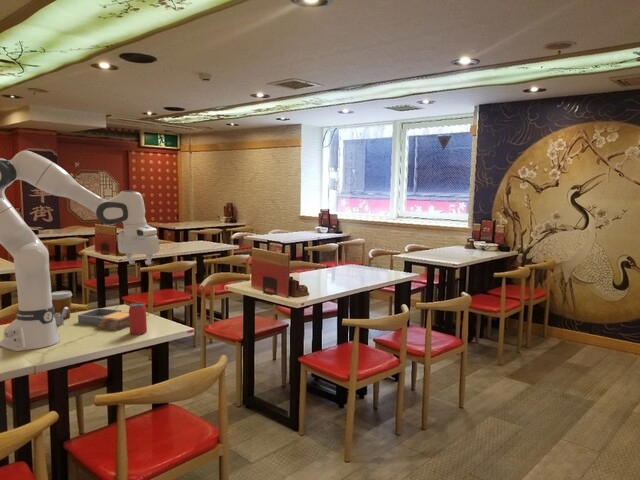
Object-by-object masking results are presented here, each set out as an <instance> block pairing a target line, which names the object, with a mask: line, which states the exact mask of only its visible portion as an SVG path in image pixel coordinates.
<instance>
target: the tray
mask: <svg viewBox="0 0 640 480" xmlns="http://www.w3.org/2000/svg"><path fill="white" fill-rule="evenodd" d="M117 311H118V312H122V309H121V310H120V309H111V308H110V309H109V308H101V307H100V308H96V309H93V310H89V311H87V312H84V313H80V314H78V315H77V321H78V324H85V325H92V326H93V325H94V326H98V318H100V317H103V316H106V315H109V314H111V313H114V312H117Z"/></svg>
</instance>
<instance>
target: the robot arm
mask: <svg viewBox="0 0 640 480" xmlns="http://www.w3.org/2000/svg"><path fill="white" fill-rule="evenodd" d="M17 180H19V181H24V182H26V183H28V184H29V185H32V186H33V187H35V188H37V189H38V190H41V191H42V192H45V193H47V194H50V195H52V196H54V197H55V196H56V197H63V198H67V199H70V200H72V201H75V202H76V203H79V204H80V205H82V206H84V207H85V208H87V209H89V210H91V212H93V213H94V215H96V218H97V220H98V221H99V222H100V223H102V224H103V225H104V226H105V225H106V226H113V225H116V224H119V223H122V225H123V230H120V231H119V233H118V234H117V235H118V237H117V249H118V252H119V253H120V254H125V257H126V259H127V260H128V263H129V265H134V264H136V262H135V259H134V258H133V254H134V255H135V254H137V255H138V254H140V255H145V256H146V259H145V260H144V263H145V265H146V266H148V265H152V259H153V255H154V254H158V253H159V251H160V241H159V237H158V236H157V234H158V229H157V228H155V227H153V226H150V225H149V224H148V223H147V222H148V221H147V220H146V217H145V215H146V207H145V206H146V205H145V202H144V198H143V195H142V194H141V193H140V192H139V191H136V190H122V191H120V192H119V193H117V194H116V195H115V196H113V197H111V198H104V197H101V196H99V195H97V194H96V193H94V192H92V191H91V190H89V189H87V188H85V187H84V186H82V185H81V184H80V183H79V182H78V181H76V179H75V178H73V176H71V175H70V174H69V173H68V171H66V170H65V169H64V168H62V167H61V166H59V165H58V164H56V163H55V162H53V161H52V160H50V159H48V158H46V157H44V156H43V155H40V154H38V153H35V152H33V151H30V150H21V151H19V152H18V153H15V155H14V156H13V157H12V158H11V159H7V158H5V157H0V245H1V246H2V247H3V248H4V249H5V250H6V251H7V252H8V253H9V255H11V256H12V258H13V265H14V266H13V267H14V275H15V283H16V289H17V291H16V292H17V301H18V309H16V310H14V312H13V314H14V315H15V314H16V315H15V319H14V320H12V322H10V323H9V324H8V325H6V327H4V330H3V335H2V337H3V338H1V339H0V347H1V348H5V349H8V350H11V351H15V352H22V351H28V350H36V349H42V348H46V347H49V346H52V345H56V344H57V343H59V342H60V333H58V327H57V326H58V325H56V321H55V318H54V317H53V315H54V306H53V305H52V295H51V293H52V284H51V272H50V253H49V250H48V248H47V247H46V246H45V244H44V243H43V242H42V241H41V239H40V238H39V237H38V236H37V235H36V233H35V232H34V231H33V230H32V229H31V228H30V226H28V224H27V223H26V222H25V220H24V219H23V217H22V216H21V215H20V213H19V212H17V210H16V209H15V207H14V206H13V205H12V204H11V202H10V201H9V199H8V198H7V197H6V194H5V192H6V191H7V190H8V189H10V187H11V186H12V185H13V184H14V183H15V182H16V181H17Z"/></svg>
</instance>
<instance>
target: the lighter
mask: <svg viewBox="0 0 640 480" xmlns="http://www.w3.org/2000/svg"><path fill="white" fill-rule="evenodd" d="M68 310H69V308H67V307H65V308H64V309H63V311H62V314H61V315H60V313H55V315H53V317H54V318H55V321H56V326H59V327H60V326H64V320H63V317H65V316H66V315H67V312H68Z"/></svg>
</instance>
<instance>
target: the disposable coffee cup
mask: <svg viewBox="0 0 640 480" xmlns="http://www.w3.org/2000/svg"><path fill="white" fill-rule="evenodd" d="M51 295H52V305H53V306H54V315H55V313H60V315H61V314H62V311H63V309H64V308H65V307H67V308H69V310H68V312H67V315H66V316H65V317H63V321H66V320H68V319H70V318H71V305H72V297H73V293H72V291H71V290H60V291H59V290H58V291H53V292H52V291H51Z"/></svg>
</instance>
